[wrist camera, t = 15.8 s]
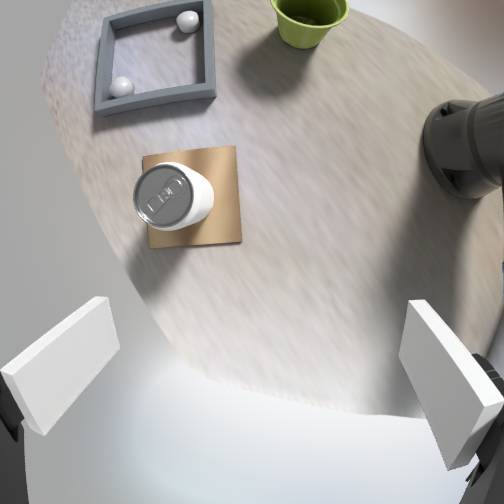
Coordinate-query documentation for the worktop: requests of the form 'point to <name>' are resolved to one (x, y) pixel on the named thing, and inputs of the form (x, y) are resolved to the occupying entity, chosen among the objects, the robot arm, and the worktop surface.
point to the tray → (186, 9)
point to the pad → (225, 198)
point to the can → (172, 196)
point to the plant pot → (308, 19)
